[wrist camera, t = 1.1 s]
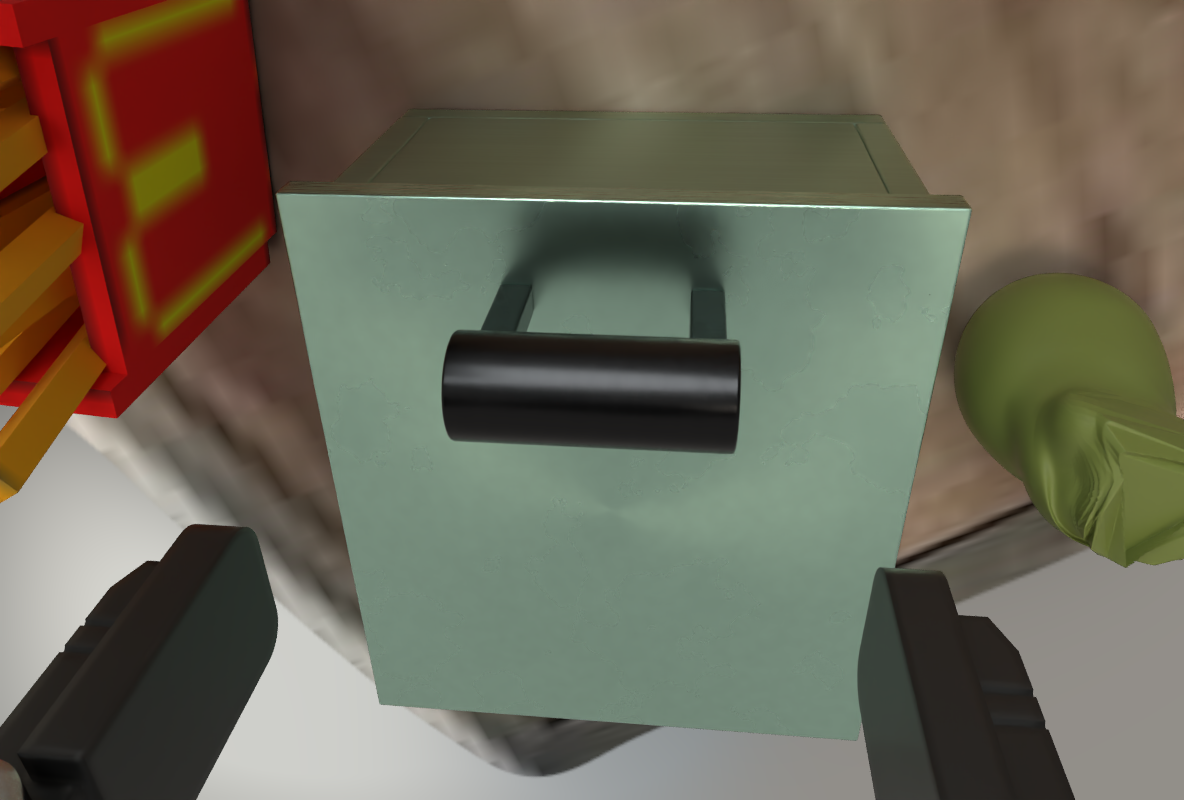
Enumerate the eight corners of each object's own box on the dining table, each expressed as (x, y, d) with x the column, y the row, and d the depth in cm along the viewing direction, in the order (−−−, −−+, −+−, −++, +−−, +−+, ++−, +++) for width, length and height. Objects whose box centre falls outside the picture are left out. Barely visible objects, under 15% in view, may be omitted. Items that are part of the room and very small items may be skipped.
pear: (906, 368, 30) (985, 579, 22) (986, 223, 27) (1112, 400, 19) (1064, 415, 30) (1201, 640, 22) (1158, 276, 28) (1358, 474, 19)
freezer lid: (288, 179, 19) (160, 289, 15) (962, 194, 18) (1050, 318, 13) (386, 683, 28) (324, 853, 23) (853, 718, 26) (885, 905, 22)
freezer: (407, 107, 27) (296, 215, 20) (881, 114, 26) (955, 231, 18) (454, 499, 35) (387, 682, 28) (820, 519, 34) (853, 717, 26)
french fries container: (265, -55, 25) (-115, 50, 14) (299, 252, 30) (42, 526, 18) (20, -77, 26) (-559, 7, 14) (93, 230, 31) (-288, 485, 19)
